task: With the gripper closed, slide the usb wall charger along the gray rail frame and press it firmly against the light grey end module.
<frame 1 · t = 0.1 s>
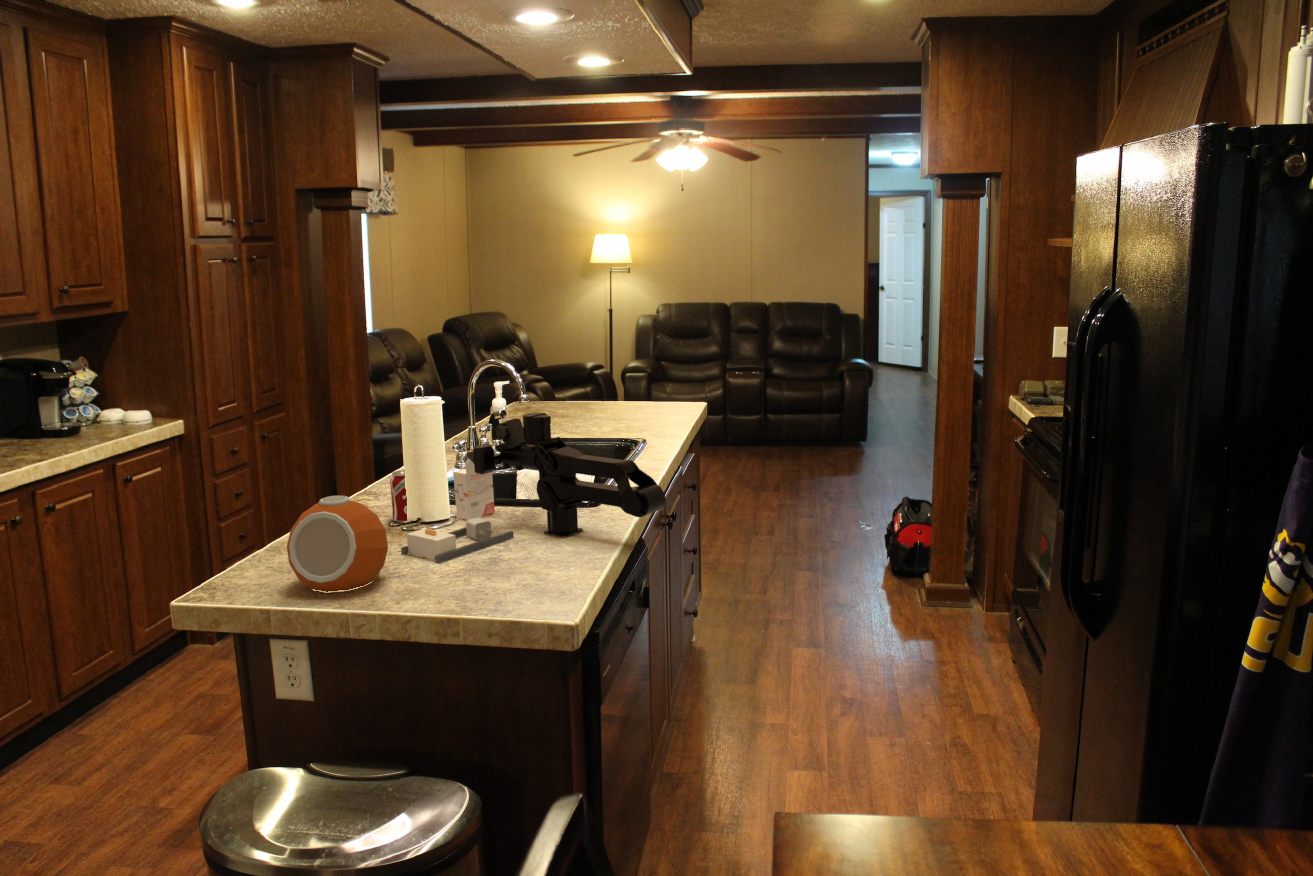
hand: (481, 450, 247), 17 cm above the countertop, tool horizontal, fingers open, 9 cm apart
alarm clock: (341, 584, 204), on the countertop
gray rail frame: (458, 545, 227), on the countertop
soda can: (407, 521, 250), on the countertop
end module: (431, 542, 221), on the countertop
ink cartridge box: (475, 516, 252), on the countertop
usb wall charger: (482, 539, 233), on the countertop
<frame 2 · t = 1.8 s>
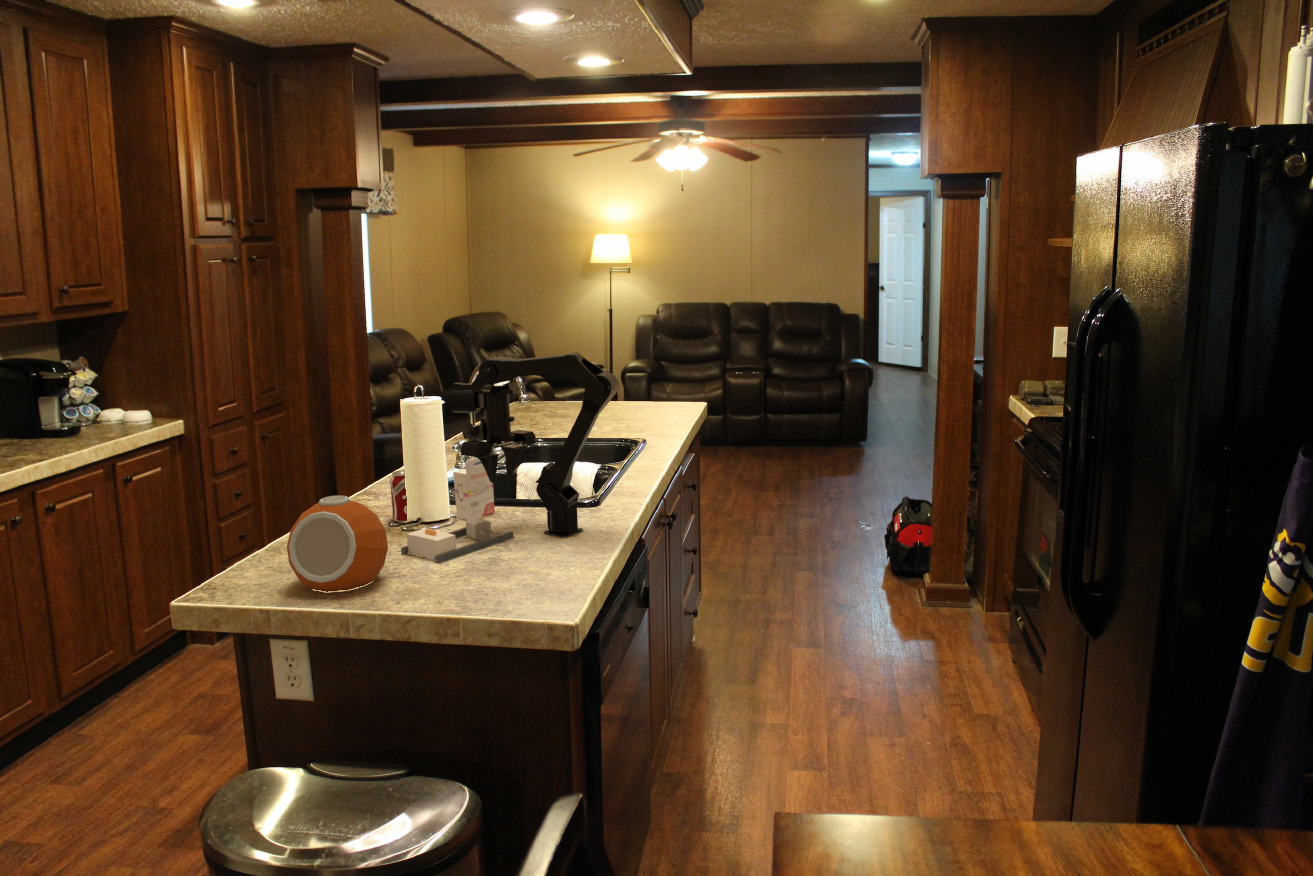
hand: (501, 480, 236), 12 cm above the countertop, tool pointing down, fingers open, 5 cm apart
nothing on the countertop moved.
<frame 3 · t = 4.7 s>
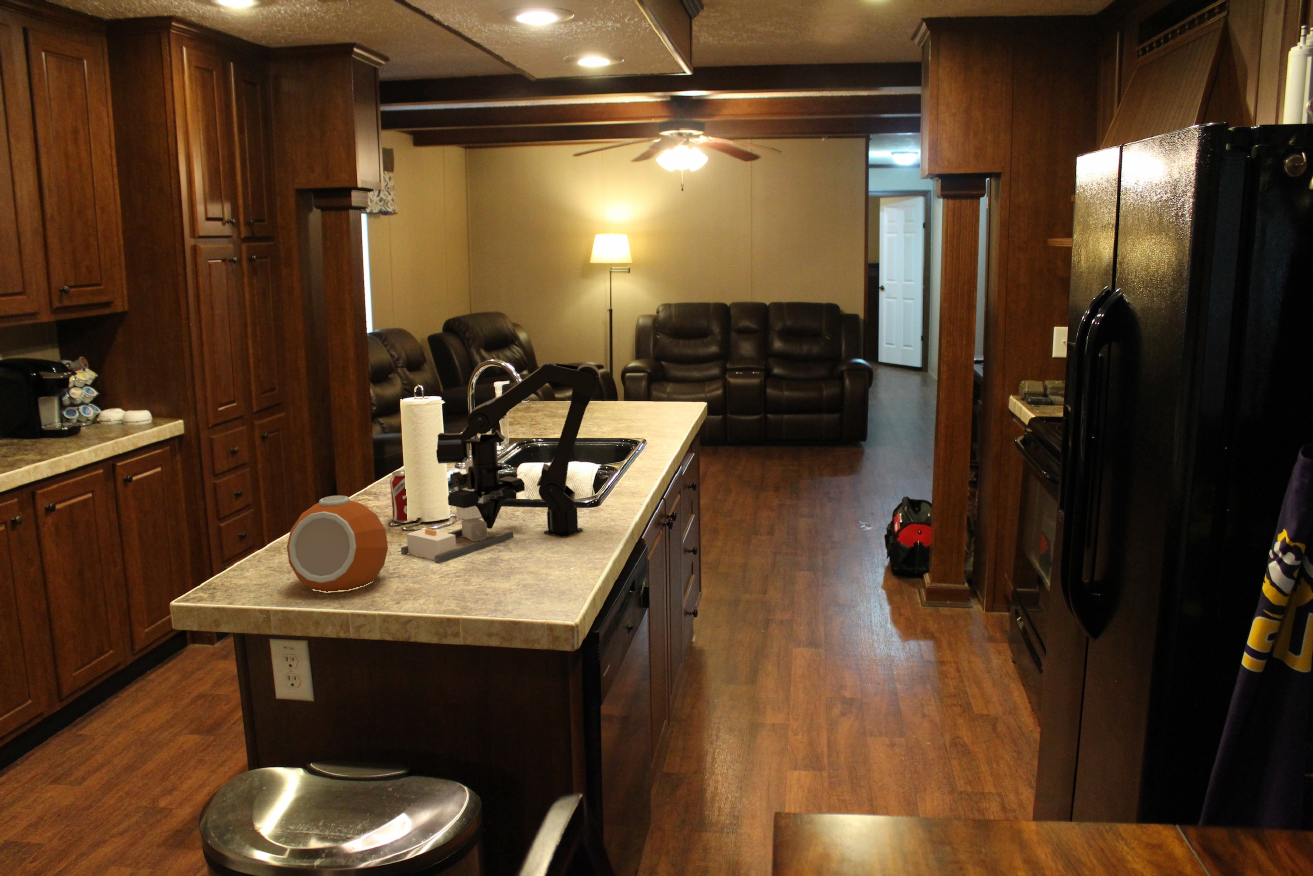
hand: (489, 528, 234), 2 cm above the countertop, tool pointing down, fingers closed
usb wall charger: (477, 540, 232), on the countertop, touching gripper
everything else where it was.
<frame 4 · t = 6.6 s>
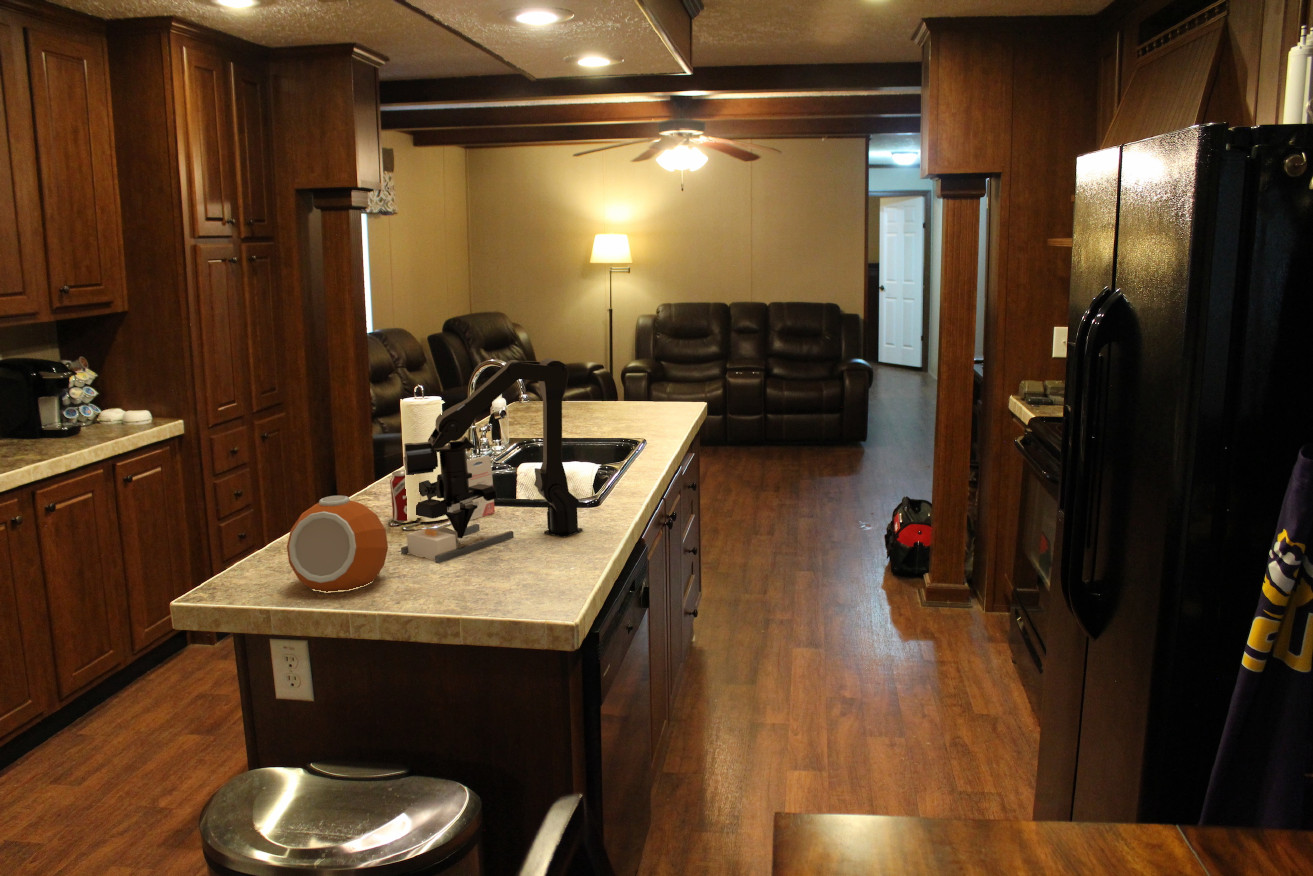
hand: (460, 538, 227), 2 cm above the countertop, tool pointing down, fingers closed
usb wall charger: (448, 549, 225), on the countertop, touching end module, gripper
everything else where it was.
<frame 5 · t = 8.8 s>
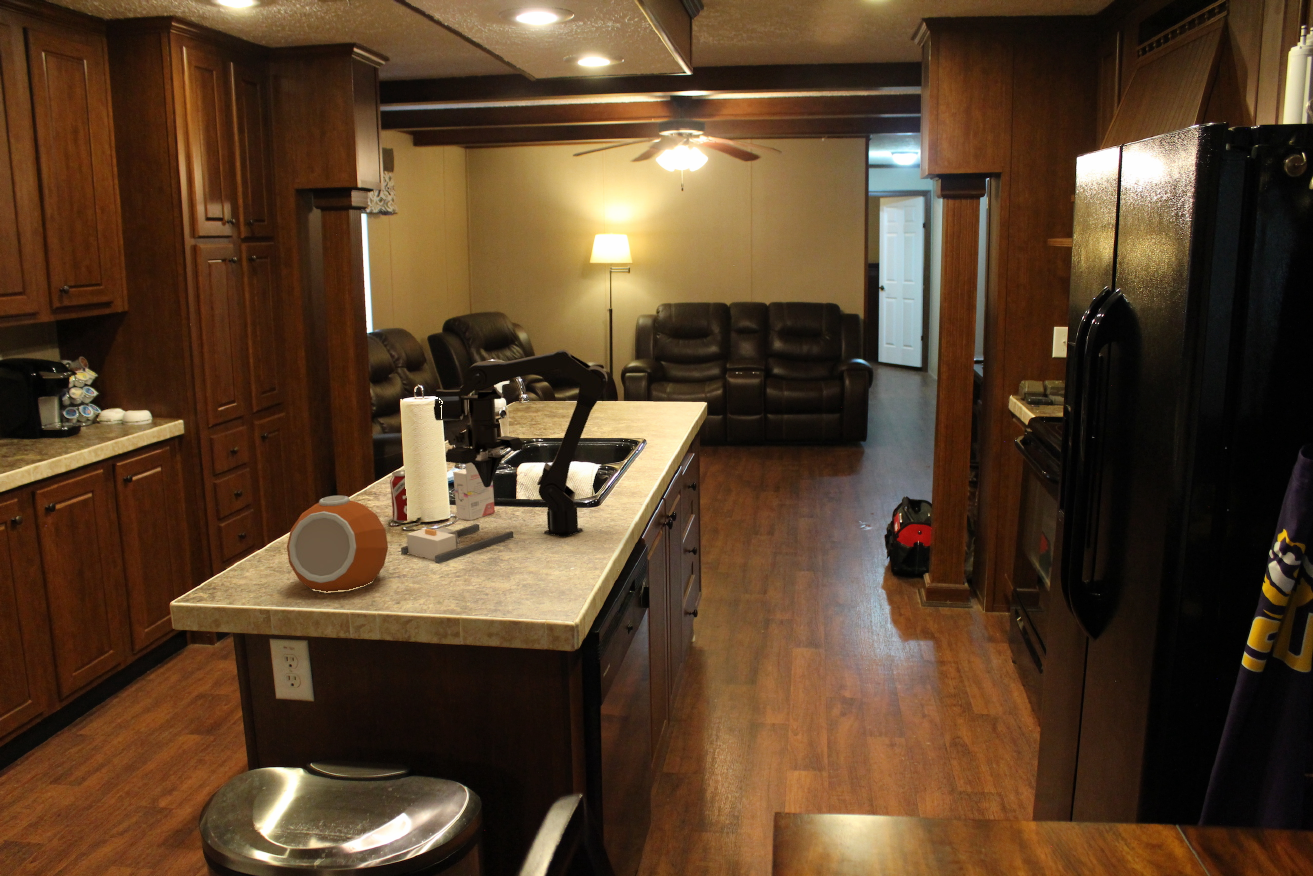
hand: (487, 487, 232), 11 cm above the countertop, tool pointing down, fingers closed
usb wall charger: (448, 550, 225), on the countertop
everything else where it was.
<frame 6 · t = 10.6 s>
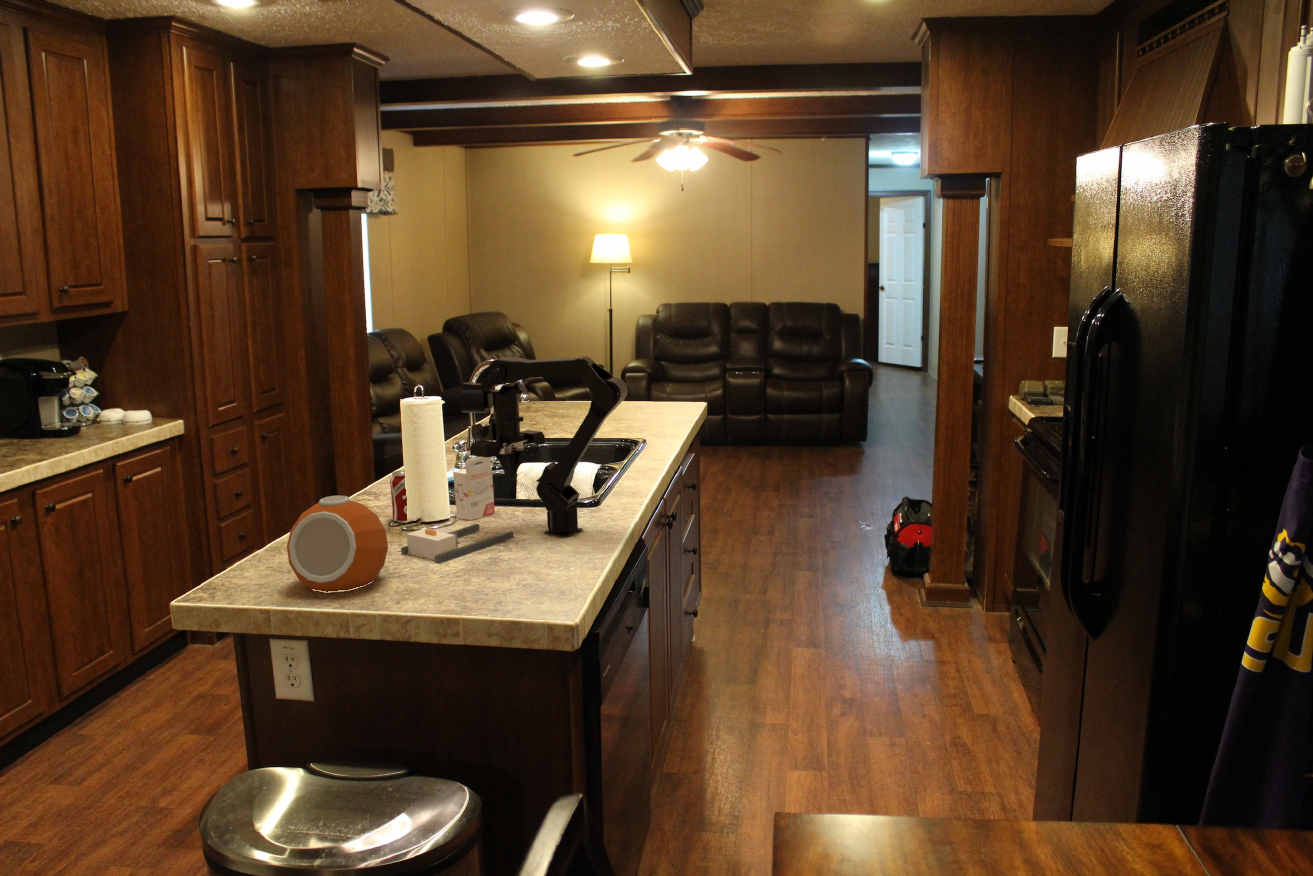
hand: (510, 480, 235), 12 cm above the countertop, tool pointing down, fingers closed
nothing on the countertop moved.
at the end: usb wall charger 0.4 cm from the target spot on the gray rail frame, point 0.0 cm above the gray rail frame's base; usb wall charger tilted 0° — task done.
